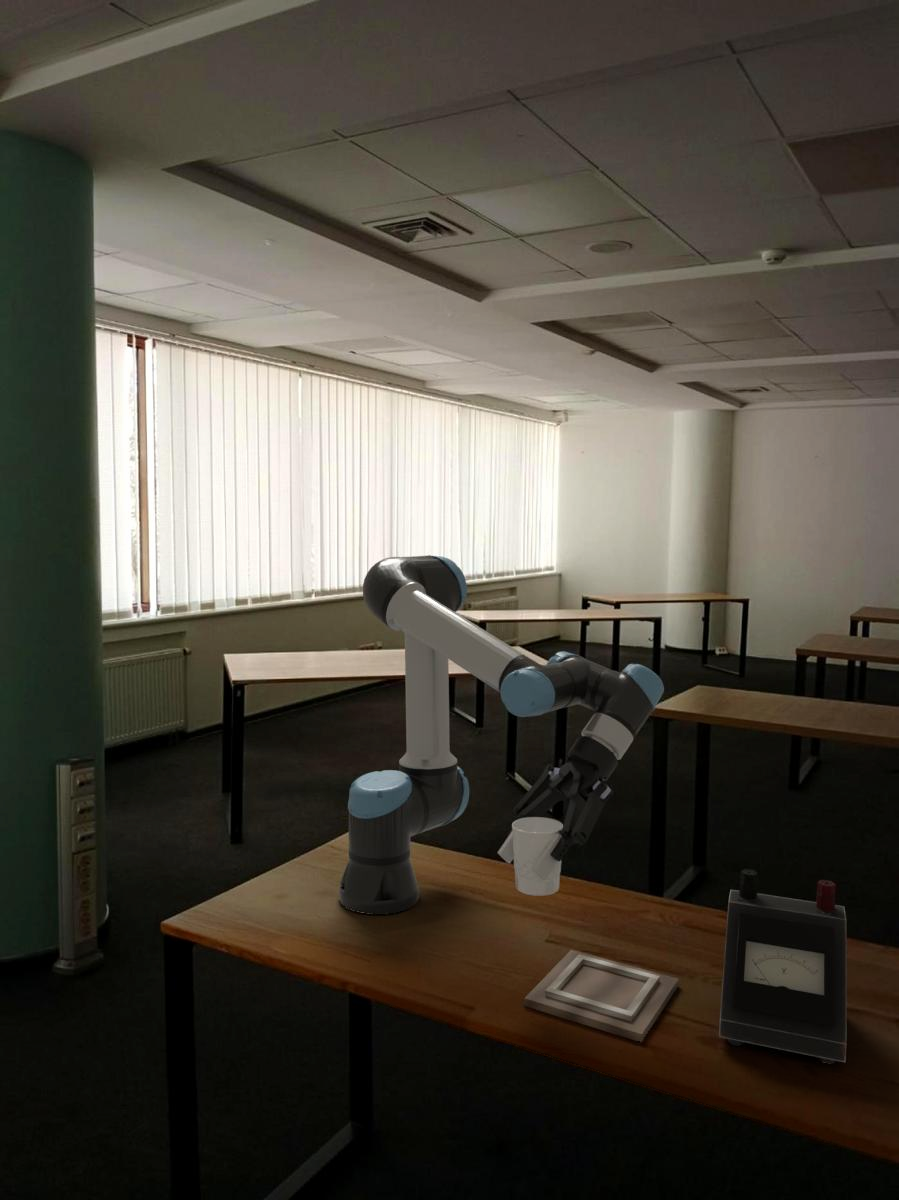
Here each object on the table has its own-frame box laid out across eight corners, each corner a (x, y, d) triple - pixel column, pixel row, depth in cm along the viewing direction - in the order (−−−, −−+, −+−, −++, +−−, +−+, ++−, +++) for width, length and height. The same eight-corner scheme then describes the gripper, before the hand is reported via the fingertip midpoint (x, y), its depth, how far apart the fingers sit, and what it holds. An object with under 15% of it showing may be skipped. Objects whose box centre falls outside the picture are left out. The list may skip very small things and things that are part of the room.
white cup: (529, 901, 136) (529, 836, 135) (502, 883, 143) (502, 821, 142) (572, 892, 140) (573, 828, 139) (544, 874, 147) (545, 814, 146)
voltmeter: (718, 1047, 126) (724, 908, 124) (725, 990, 141) (731, 865, 139) (844, 1074, 120) (853, 928, 118) (838, 1011, 136) (845, 882, 134)
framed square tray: (524, 1005, 136) (524, 993, 135) (571, 956, 151) (571, 945, 151) (641, 1042, 127) (641, 1028, 126) (678, 986, 142) (678, 973, 142)
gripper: (658, 776, 140) (579, 902, 132) (568, 749, 157) (493, 859, 149) (634, 747, 137) (551, 874, 129) (545, 722, 154) (467, 834, 146)
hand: (520, 866), depth 139 cm, fingers closed on white cup, 8 cm apart
